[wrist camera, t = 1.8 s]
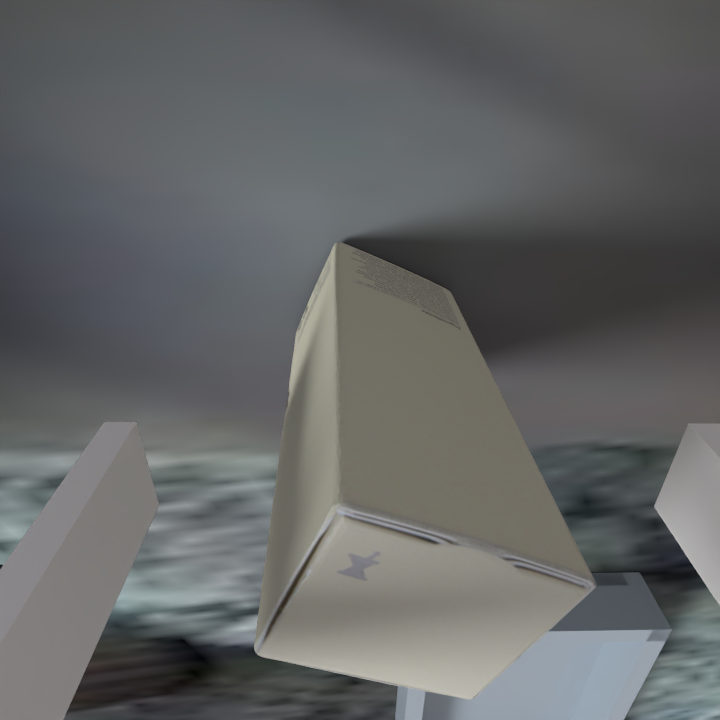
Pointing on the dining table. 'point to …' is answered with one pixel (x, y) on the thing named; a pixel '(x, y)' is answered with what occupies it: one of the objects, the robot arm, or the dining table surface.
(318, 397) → the box
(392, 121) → the dining table surface
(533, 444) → the dining table surface
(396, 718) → the bin
